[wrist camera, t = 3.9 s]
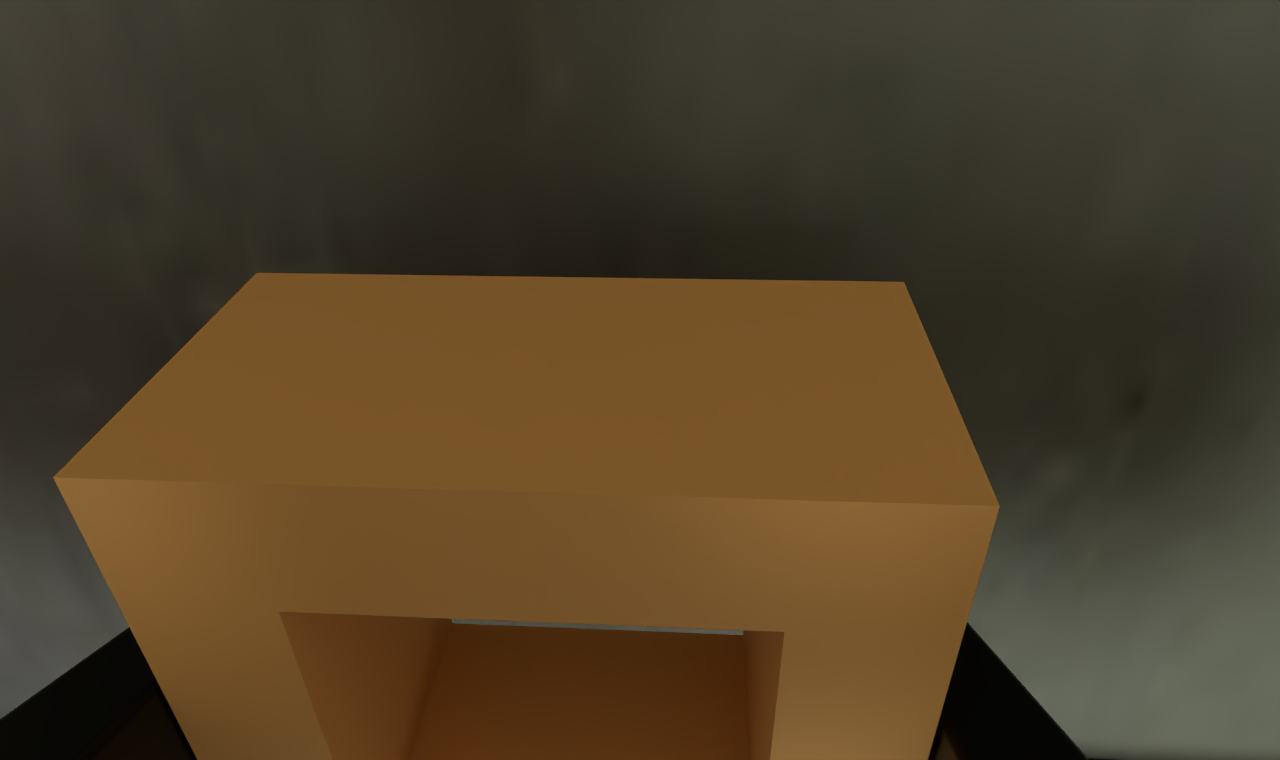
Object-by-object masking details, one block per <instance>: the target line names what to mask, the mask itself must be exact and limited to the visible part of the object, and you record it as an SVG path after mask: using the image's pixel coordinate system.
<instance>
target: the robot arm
mask: <svg viewBox="0 0 1280 760" xmlns="http://www.w3.org/2000/svg"><path fill="white" fill-rule="evenodd" d="M0 760H197V758H196V756H195V754H194V752H193V750H192V748H191V746H190V744H189V742H188V740H187V738H186V737H185V735H184V733H183V731H182V729H181V727H180V725H179V723H178V721H177V719H176V717H175V715H174V713H173V711H172V709H171V707H170V705H169V703H168V701H167V699H166V697H165V695H164V694H163V692H162V690H161V688H160V686H159V684H158V682H157V680H156V678H155V676H154V674H153V672H152V670H151V668H150V666H149V664H148V662H147V660H146V658H145V656H144V654H143V652H142V651H141V649H140V647H139V645H138V643H137V641H136V639H135V637H134V635H133V633H132V631H131V629H130V627H129V628H127V629H126V630H124V631H123V632H122V633H120V634H119V635H117V636H116V637H115V638H113V639H112V640H110V641H109V642H108V643H106V644H105V645H103V646H102V647H101V648H99V649H98V650H96V651H95V652H94V653H92V654H91V655H89V656H88V657H87V658H85V659H84V660H82V661H81V662H80V663H78V664H77V665H75V666H74V667H73V668H71V669H70V670H68V671H67V672H66V673H64V674H63V675H61V676H60V677H59V678H57V679H56V680H54V681H53V682H52V683H50V684H49V685H47V686H46V687H45V688H43V689H42V690H40V691H39V692H38V693H36V694H35V695H33V696H32V697H31V698H29V699H28V700H26V701H25V702H24V703H22V704H21V705H19V706H18V707H17V708H15V709H14V710H12V711H11V712H10V713H8V714H7V715H5V716H4V717H3V718H1V719H0ZM928 760H1089V759H1088V758H1087V757H1086V756H1085V755H1084V753H1083V752H1082V751H1081V750H1080V749H1079V748H1078V747H1077V746H1076V744H1075V743H1074V742H1073V741H1072V740H1071V739H1070V738H1069V736H1068V735H1067V734H1066V733H1065V732H1064V731H1063V730H1062V729H1061V727H1060V726H1059V725H1058V724H1057V723H1056V722H1055V721H1054V720H1053V718H1052V717H1051V716H1050V715H1049V714H1048V713H1047V712H1046V711H1045V709H1044V708H1043V707H1042V706H1041V705H1040V704H1039V703H1038V701H1037V700H1036V699H1035V698H1034V697H1033V696H1032V695H1031V694H1030V692H1029V691H1028V690H1027V689H1026V688H1025V687H1024V686H1023V685H1022V683H1021V682H1020V681H1019V680H1018V679H1017V678H1016V677H1015V676H1014V674H1013V673H1012V672H1011V671H1010V670H1009V669H1008V668H1007V666H1006V665H1005V664H1004V663H1003V662H1002V661H1001V660H1000V659H999V657H998V656H997V655H996V654H995V653H994V652H993V651H992V650H991V648H990V647H989V646H988V645H987V644H986V643H985V642H984V641H983V639H982V638H981V637H980V636H979V635H978V634H977V633H976V631H975V630H974V629H973V628H972V627H971V626H970V625H969V624H968V622H967V624H966V627H965V631H964V634H963V638H962V641H961V645H960V648H959V652H958V655H957V659H956V662H955V666H954V669H953V673H952V676H951V680H950V683H949V687H948V690H947V694H946V697H945V701H944V704H943V708H942V711H941V715H940V718H939V722H938V726H937V729H936V733H935V736H934V740H933V743H932V747H931V750H930V754H929V757H928Z"/></svg>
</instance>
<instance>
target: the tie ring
mask: <svg viewBox="0 0 1280 760" xmlns="http://www.w3.org/2000/svg"><path fill="white" fill-rule="evenodd" d="M53 479H54V480H55V482H56V484H57V486H58V488H59V490H60V492H61V494H62V496H63V498H64V500H65V502H66V504H67V506H68V508H69V510H70V512H71V514H72V516H73V518H74V520H75V522H76V523H77V525H78V527H79V529H80V531H81V533H82V535H83V537H84V539H85V541H86V543H87V545H88V547H89V549H90V551H91V553H92V555H93V557H94V559H95V561H96V563H97V565H98V566H99V568H100V570H101V572H102V574H103V576H104V578H105V580H106V582H107V584H108V586H109V588H110V590H111V592H112V594H113V596H114V598H115V600H116V602H117V604H118V606H119V608H120V609H121V611H122V613H123V615H124V617H125V619H126V621H127V623H128V625H129V627H130V629H131V631H132V633H133V635H134V637H135V639H136V641H137V643H138V645H139V647H140V649H141V651H142V652H143V654H144V656H145V658H146V660H147V662H148V664H149V666H150V668H151V670H152V672H153V674H154V676H155V678H156V680H157V682H158V684H159V686H160V688H161V690H162V692H163V694H164V695H165V697H166V699H167V701H168V703H169V705H170V707H171V709H172V711H173V713H174V715H175V717H176V719H177V721H178V723H179V725H180V727H181V729H182V731H183V733H184V735H185V737H186V738H187V740H188V742H189V744H190V746H191V748H192V750H193V752H194V754H195V756H196V758H197V760H928V757H929V754H930V750H931V747H932V743H933V740H934V736H935V733H936V729H937V726H938V722H939V718H940V715H941V711H942V708H943V704H944V701H945V697H946V694H947V690H948V687H949V683H950V680H951V676H952V673H953V669H954V666H955V662H956V659H957V655H958V652H959V648H960V645H961V641H962V638H963V634H964V631H965V627H966V624H967V620H968V617H969V613H970V610H971V606H972V603H973V599H974V596H975V592H976V589H977V585H978V582H979V578H980V575H981V571H982V567H983V564H984V560H985V557H986V553H987V550H988V546H989V543H990V539H991V536H992V532H993V529H994V525H995V522H996V518H997V515H998V511H999V508H1000V505H999V503H998V501H997V498H996V496H995V494H994V491H993V489H992V487H991V484H990V482H989V480H988V477H987V475H986V473H985V470H984V468H983V466H982V463H981V461H980V459H979V456H978V454H977V452H976V449H975V447H974V445H973V442H972V440H971V438H970V435H969V433H968V430H967V428H966V426H965V423H964V421H963V419H962V416H961V414H960V412H959V409H958V407H957V405H956V402H955V400H954V398H953V395H952V393H951V391H950V388H949V386H948V384H947V381H946V379H945V377H944V374H943V372H942V370H941V367H940V365H939V363H938V360H937V358H936V356H935V353H934V351H933V349H932V346H931V344H930V342H929V339H928V337H927V335H926V332H925V330H924V328H923V325H922V323H921V321H920V318H919V316H918V314H917V311H916V309H915V307H914V304H913V302H912V299H911V297H910V295H909V292H908V290H907V288H906V285H905V283H904V282H879V281H807V280H736V279H664V278H593V277H521V276H449V275H378V274H306V273H256V274H255V275H254V276H253V277H252V278H251V279H250V280H249V281H248V282H247V283H246V284H245V285H244V286H243V287H242V288H241V289H240V290H239V291H238V292H237V293H236V294H235V295H234V296H233V297H232V298H231V299H230V300H229V301H228V302H227V303H226V304H225V305H224V306H223V307H222V308H221V309H220V310H219V311H218V312H217V313H216V314H215V315H214V316H213V317H212V318H211V319H210V320H209V321H208V322H207V323H206V324H205V325H204V326H203V327H202V328H201V329H200V330H199V331H198V332H197V333H196V334H195V335H194V336H193V337H192V338H191V339H190V340H189V341H188V342H187V343H186V344H185V345H184V346H183V347H182V348H181V349H180V350H179V351H178V352H177V353H176V354H175V355H174V356H173V357H172V358H171V359H170V360H169V362H168V363H167V364H166V365H165V366H164V367H163V368H162V369H161V370H160V371H159V372H158V373H157V374H156V375H155V376H154V377H153V378H152V379H151V380H150V381H149V382H148V383H147V384H146V385H145V386H144V387H143V388H142V389H141V390H140V391H139V392H138V393H137V394H136V395H135V396H134V397H133V398H132V399H131V400H130V401H129V402H128V403H127V404H126V405H125V406H124V407H123V408H122V409H121V410H120V411H119V412H118V413H117V414H116V415H115V416H114V417H113V418H112V419H111V420H110V421H109V422H108V423H107V424H106V425H105V426H104V427H103V428H102V429H101V430H100V431H99V432H98V433H97V434H96V435H95V436H94V437H93V438H92V439H91V440H90V441H89V442H88V443H87V444H86V445H85V446H84V447H83V448H82V449H81V450H80V451H79V452H78V453H77V454H76V455H75V456H74V457H73V458H72V459H71V460H70V461H69V462H68V463H67V464H66V465H65V466H64V467H63V468H62V469H61V470H60V471H59V472H58V473H57V474H56V475H55V476H54V477H53ZM451 619H473V620H498V621H523V622H547V623H572V624H597V625H622V626H647V627H672V628H696V629H721V630H744V631H743V635H725V634H700V633H676V632H651V631H626V630H602V629H577V628H553V627H528V626H503V625H479V624H454V623H452V620H451Z"/></svg>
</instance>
